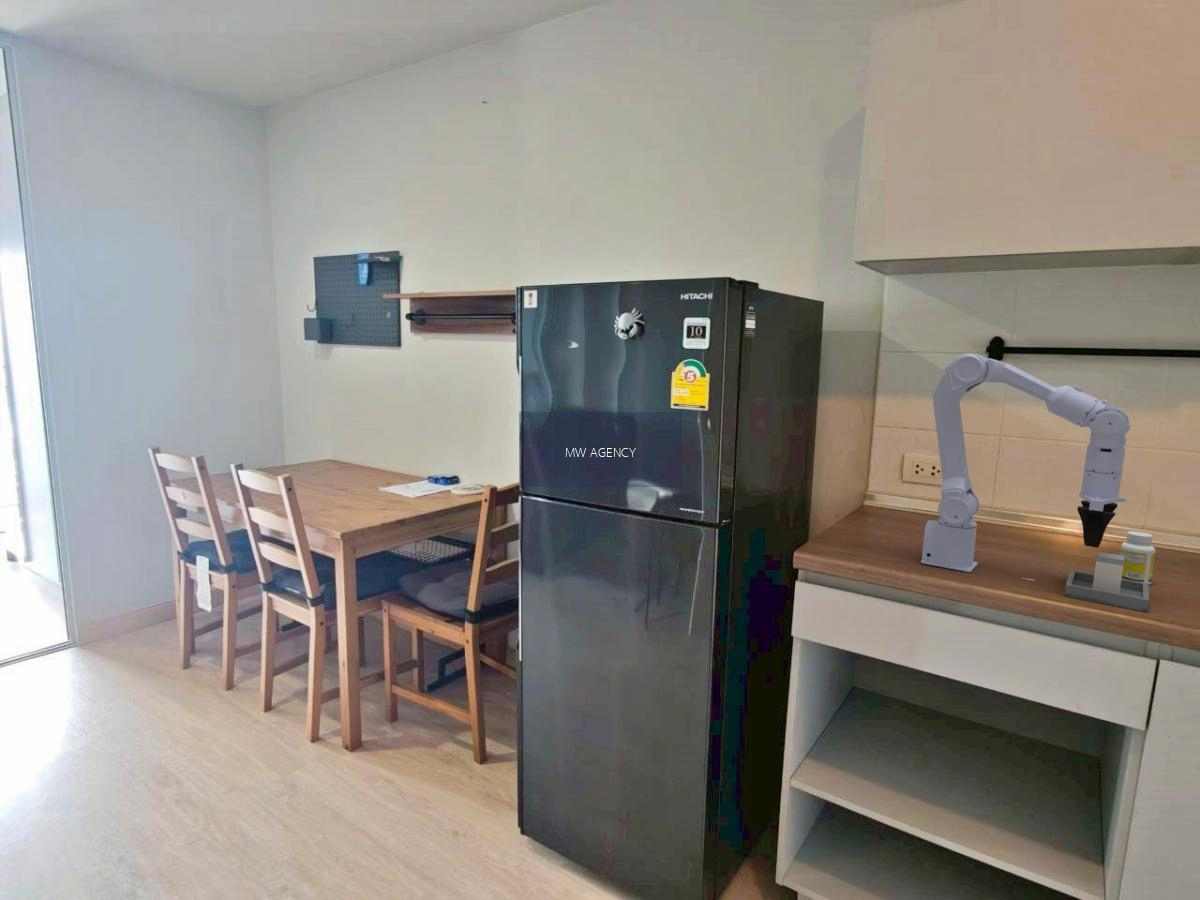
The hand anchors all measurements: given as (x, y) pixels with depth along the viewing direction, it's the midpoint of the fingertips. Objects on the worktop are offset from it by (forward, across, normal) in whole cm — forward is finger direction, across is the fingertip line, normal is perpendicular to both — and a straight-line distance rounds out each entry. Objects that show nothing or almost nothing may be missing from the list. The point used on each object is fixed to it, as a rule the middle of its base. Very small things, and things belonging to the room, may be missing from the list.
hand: (1092, 542), depth 128 cm
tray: (+9, -2, -3) cm, 10 cm away
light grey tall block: (+9, -2, -3) cm, 9 cm away
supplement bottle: (+9, +13, -7) cm, 18 cm away
